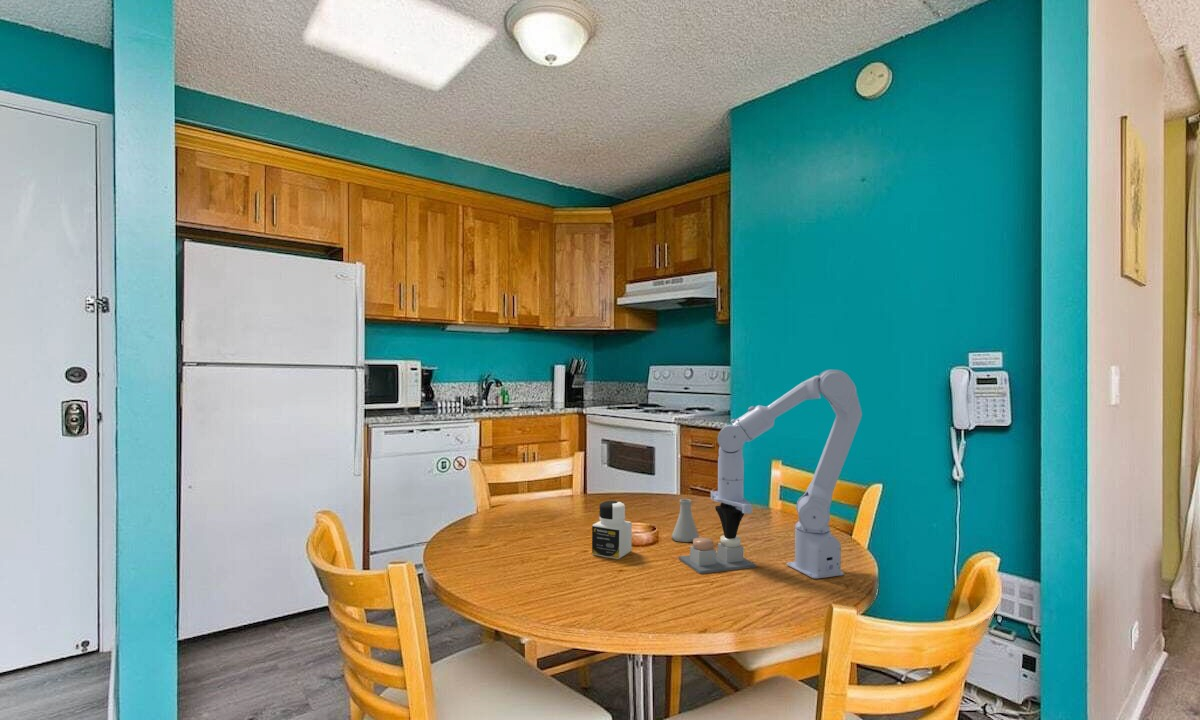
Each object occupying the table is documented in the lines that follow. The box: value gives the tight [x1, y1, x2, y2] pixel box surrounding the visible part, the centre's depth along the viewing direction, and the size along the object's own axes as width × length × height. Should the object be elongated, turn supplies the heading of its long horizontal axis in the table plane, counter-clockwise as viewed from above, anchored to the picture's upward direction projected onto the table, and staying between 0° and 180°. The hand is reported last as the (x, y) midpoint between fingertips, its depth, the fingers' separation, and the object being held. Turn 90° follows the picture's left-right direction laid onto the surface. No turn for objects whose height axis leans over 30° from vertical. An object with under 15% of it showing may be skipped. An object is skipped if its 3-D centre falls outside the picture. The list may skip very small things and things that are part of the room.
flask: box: [670, 498, 700, 543], centre depth 152 cm, size 7×7×10 cm
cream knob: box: [719, 534, 741, 547], centre depth 135 cm, size 4×4×4 cm
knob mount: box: [678, 542, 757, 575], centre depth 134 cm, size 10×14×4 cm
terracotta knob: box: [692, 537, 714, 550], centre depth 133 cm, size 4×4×4 cm
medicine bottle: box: [591, 500, 633, 560], centre depth 140 cm, size 7×7×12 cm
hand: (730, 538), depth 135 cm, fingers closed, pressing on cream knob
